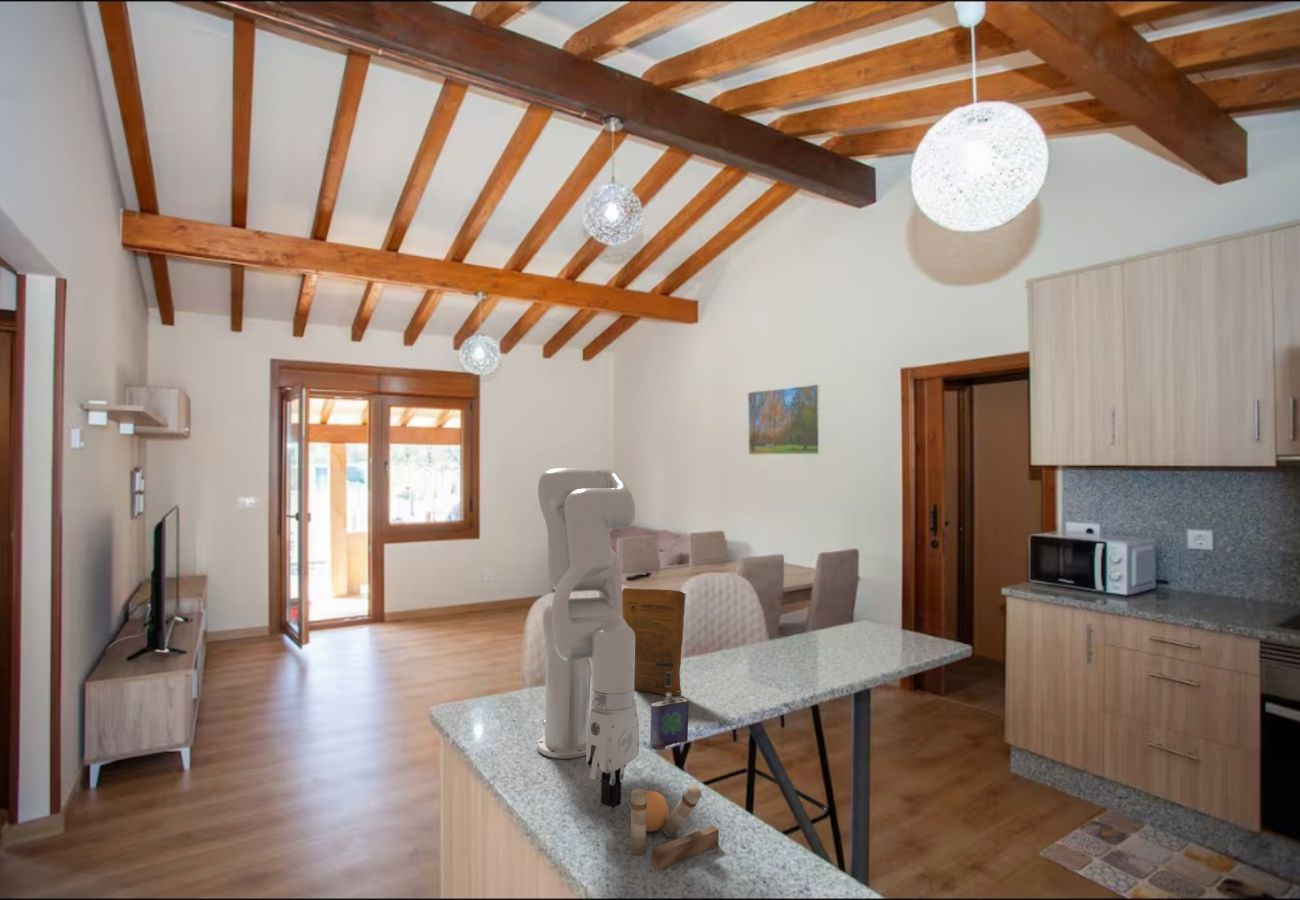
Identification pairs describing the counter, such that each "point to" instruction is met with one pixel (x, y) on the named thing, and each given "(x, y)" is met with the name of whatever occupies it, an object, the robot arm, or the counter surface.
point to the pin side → (638, 821)
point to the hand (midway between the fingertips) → (610, 804)
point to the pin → (682, 810)
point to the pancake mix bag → (656, 637)
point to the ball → (655, 811)
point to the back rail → (684, 847)
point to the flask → (669, 721)
